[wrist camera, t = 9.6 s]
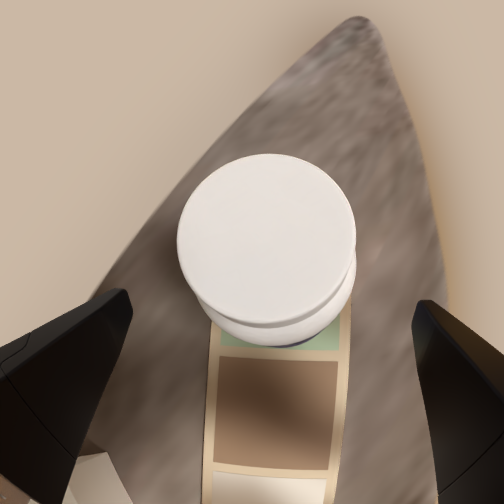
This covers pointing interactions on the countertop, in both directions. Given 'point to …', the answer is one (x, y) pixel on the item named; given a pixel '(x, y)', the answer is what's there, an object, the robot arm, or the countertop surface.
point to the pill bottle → (269, 249)
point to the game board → (275, 418)
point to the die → (94, 482)
